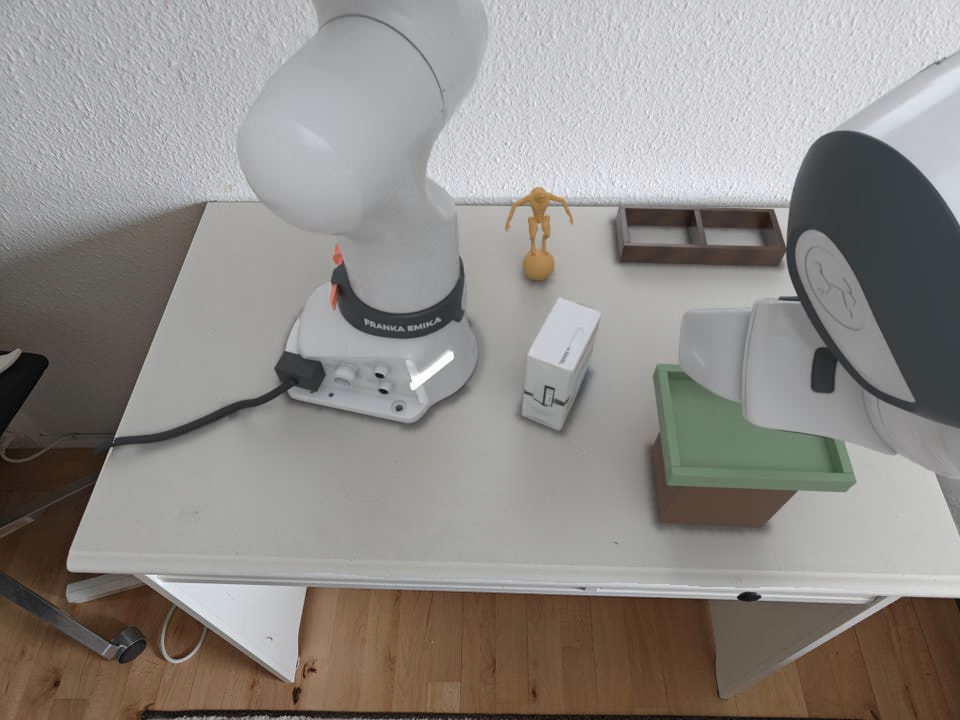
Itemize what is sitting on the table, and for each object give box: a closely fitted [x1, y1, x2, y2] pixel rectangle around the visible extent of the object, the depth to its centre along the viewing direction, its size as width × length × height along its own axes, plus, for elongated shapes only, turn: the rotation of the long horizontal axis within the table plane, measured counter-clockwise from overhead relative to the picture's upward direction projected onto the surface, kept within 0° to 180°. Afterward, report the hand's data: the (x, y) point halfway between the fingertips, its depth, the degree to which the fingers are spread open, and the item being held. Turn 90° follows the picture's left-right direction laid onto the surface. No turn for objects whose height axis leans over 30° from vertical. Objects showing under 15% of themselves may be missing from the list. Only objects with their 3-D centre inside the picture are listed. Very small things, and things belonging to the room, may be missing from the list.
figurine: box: [504, 186, 574, 281], centre depth 77 cm, size 8×6×12 cm
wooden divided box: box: [615, 204, 786, 267], centre depth 83 cm, size 20×8×3 cm, turn 87°
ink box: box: [521, 296, 603, 432], centre depth 66 cm, size 9×5×12 cm, turn 154°
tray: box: [650, 363, 858, 528], centre depth 59 cm, size 14×11×14 cm
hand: (803, 332), depth 44 cm, fingers closed on supplement bottle, 5 cm apart
